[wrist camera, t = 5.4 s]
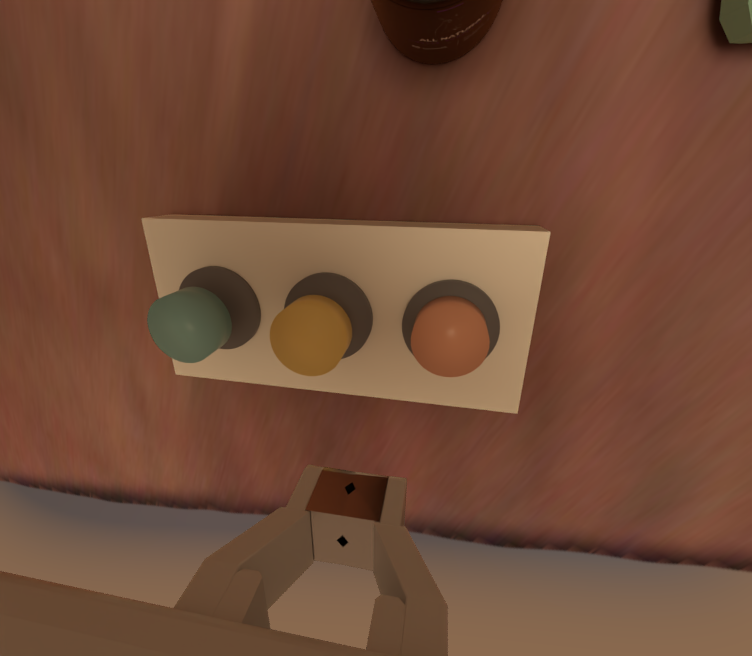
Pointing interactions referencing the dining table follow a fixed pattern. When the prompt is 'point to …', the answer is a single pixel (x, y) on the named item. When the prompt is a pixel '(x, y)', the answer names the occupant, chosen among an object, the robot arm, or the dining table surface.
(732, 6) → the container
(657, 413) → the dining table surface
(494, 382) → the button panel
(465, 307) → the terracotta button
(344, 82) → the dining table surface
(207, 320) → the teal button
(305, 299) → the mustard button
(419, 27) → the supplement bottle
